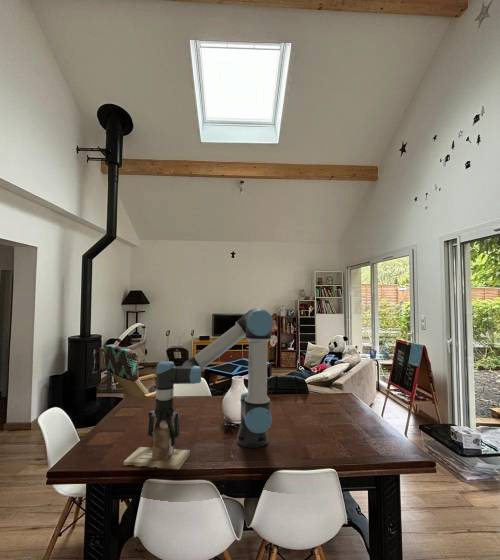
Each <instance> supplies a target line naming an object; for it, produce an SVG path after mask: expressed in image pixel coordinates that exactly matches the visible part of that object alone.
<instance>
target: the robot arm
mask: <svg viewBox="0 0 500 560" xmlns="http://www.w3.org/2000/svg"><path fill="white" fill-rule="evenodd" d="M273 327H274V320H273V317H272V315H271V314H270V313H269V311H267V310H265V309H264V308H252V309H249V310H248V311H246V313H244V315H243V316H241V318H239V319H238V320H237V321H235V324H234V325H233V326H232V327H230V328H229V329H228V330H227V331H225V332H224V333H223V334H222V335H220V336H219V337H217V338H216V339H214V340H213V341H212V342H211V343H210V344H208V345H207V346H205V347H204V348H203V349H201V350H200V351H199V352H197V353H196V354H195V355H193V356H192V357H191V358H189V359H188V360H186V361H184V362H183V363H182V365H179V366H178V365H177V366H176V365H175V363H174V361H169V360H167V361H165V360H164V361H160V362H158V363H157V365H156V375H155V376H156V377H155V381H156V384H155V398H156V399H155V409H154V410H151V411H149V412H148V417H149V419H148V431H147V435H148V436H149V437H151V439H152V440H151V444H152V446H153V430H154V429H155V428H156V427H159V426H160V423H161V421H162V420H164V421H166V423H167V425H168V428H170V436H171V438H170V439H169V455H171V454H172V452H173V446H174V447H175V444H176V438H178V437H179V436H180V435H181V433H180V414H181V412H179V411H178V412H176V411H175V409H174V394H175V393H174V390H175V386H174V385H182V384H183V385H187V384H188V385H191V384H192V385H194V384H200V383H201V382H202V370H203V369H206V367H208V366H209V365H210V364H212V363H213V362H214V361H215V360H216V359H218V358H219V357H221V356H222V355H223V354H224V353H225V352H226V353H227V352H228V351H229V350H230V349H231V348H232V347H234V346H235V345H236V344H238V343H239V342H241V340H243V339H244V338H245V339H246V340H247V341H248V372H247V373H248V374H247V378H248V379H247V380H248V382H247V392H244V393H241V395H240V426H239V430H238V432H237V436H236V443H237V444H238V445H239V446H241V447H244V448H250V449H251V448H252V449H255V448H261V447H265V446H266V445H267V444H268V443H269V435H268V433H267V431H268V430H269V429H270V427H271V426H272V423H273V417H272V413H271V398H270V397H268V394H267V393H268V346H269V345H268V343H269V341H270V340H271V338H272V330H273ZM172 415H173V422H172V418H171V416H172ZM156 416H157V420H156V419H155V417H156ZM155 420H156V421H155ZM173 423H174V427H173ZM154 424H155V425H154Z"/></svg>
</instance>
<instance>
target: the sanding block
mask: <svg viewBox="0 0 500 560" xmlns="http://www.w3.org/2000/svg"><path fill="white" fill-rule="evenodd" d="M172 423H173V427H174V428H175V425H174V422H172ZM154 428H155V427H154ZM154 428H153V445H152V447H151V448H152V460H159V461H166V460H167V459H168V458H169V457H170V455H169V439H170V438H171V436H170V428H168V425H167V423H161V424H160V426H159V427H156V428H155V429H154ZM174 449H175V445H174V446H173V452H174ZM173 452H172V453H173Z"/></svg>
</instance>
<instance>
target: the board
mask: <svg viewBox="0 0 500 560" xmlns="http://www.w3.org/2000/svg"><path fill="white" fill-rule="evenodd" d="M190 455H191V450H190V449H179V448H177V449H176V448H174V452H173V453H172V454H171V455H170V457H169V458H168V459H167V460H166V461H159V460H152V447H148V446H147V447H146V446H139V447H138V448H137V449H136V450H135V451H134V452H132V453H131V454H130V455H129V456H128V457H127V458H126V459H125V460H124V461H123V466H127V465H135V466H134V467H141V466H148V467H147V468H154V467H157V469H167V470H168V469H169V470H180V469H181V467H182V466H183V464H184V463H185V462H186V460H187V459H188V457H189V456H190Z"/></svg>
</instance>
